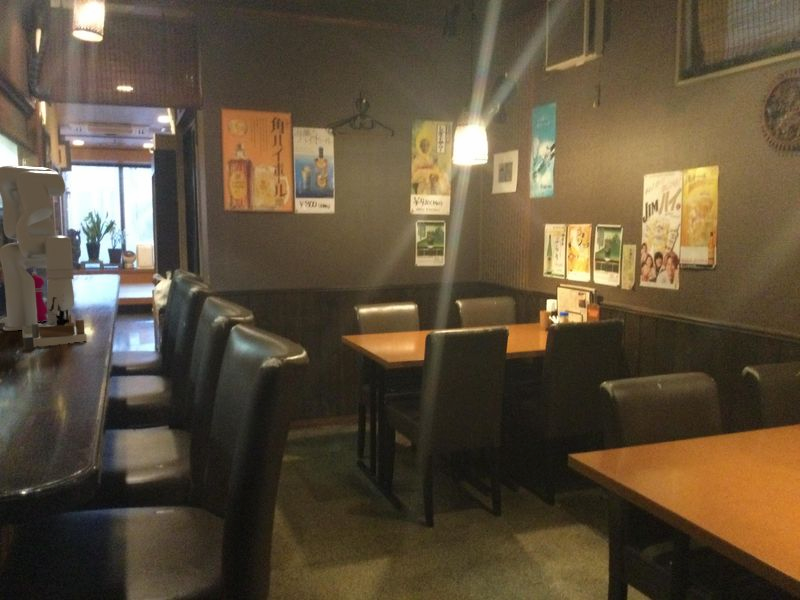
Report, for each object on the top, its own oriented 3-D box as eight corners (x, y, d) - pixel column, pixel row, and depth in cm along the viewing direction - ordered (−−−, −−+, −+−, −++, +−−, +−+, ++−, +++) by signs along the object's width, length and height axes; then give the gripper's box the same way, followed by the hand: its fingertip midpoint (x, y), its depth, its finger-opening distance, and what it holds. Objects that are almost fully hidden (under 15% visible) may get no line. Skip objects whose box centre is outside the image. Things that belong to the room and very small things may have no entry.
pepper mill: (32, 323, 250) (28, 272, 247) (24, 322, 254) (20, 271, 252) (51, 321, 255) (48, 271, 253) (43, 320, 260) (39, 270, 257)
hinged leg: (41, 335, 203) (40, 323, 202) (74, 334, 205) (74, 322, 205) (39, 336, 201) (38, 324, 200) (72, 335, 203) (72, 323, 202)
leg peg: (47, 334, 223) (45, 311, 222) (55, 332, 227) (53, 310, 226) (57, 334, 223) (55, 311, 222) (65, 332, 226) (63, 310, 226)
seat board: (16, 338, 215) (15, 317, 214) (75, 333, 225) (73, 313, 224) (25, 350, 192) (23, 327, 191) (90, 344, 203) (88, 322, 202)
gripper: (57, 273, 211) (60, 328, 213) (37, 277, 196) (41, 336, 198) (81, 273, 212) (84, 327, 214) (63, 276, 197) (66, 335, 199)
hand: (63, 331), depth 206 cm, fingers closed
